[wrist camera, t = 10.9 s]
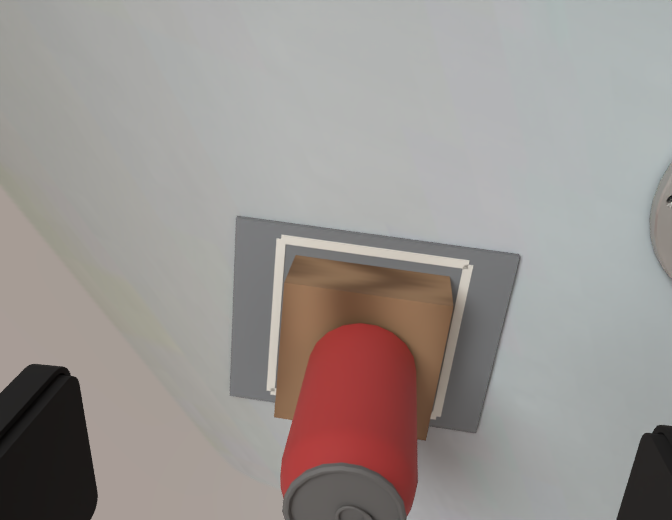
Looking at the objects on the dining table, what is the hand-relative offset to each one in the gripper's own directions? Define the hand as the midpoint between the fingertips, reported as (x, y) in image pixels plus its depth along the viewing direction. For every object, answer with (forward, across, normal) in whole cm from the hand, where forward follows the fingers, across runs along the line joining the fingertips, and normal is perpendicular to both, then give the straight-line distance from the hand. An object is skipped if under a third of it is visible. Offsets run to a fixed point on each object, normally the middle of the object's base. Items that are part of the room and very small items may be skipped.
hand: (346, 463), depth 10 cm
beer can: (+25, +1, +15) cm, 29 cm away
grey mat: (+29, +1, +15) cm, 32 cm away
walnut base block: (+28, +1, +15) cm, 32 cm away
